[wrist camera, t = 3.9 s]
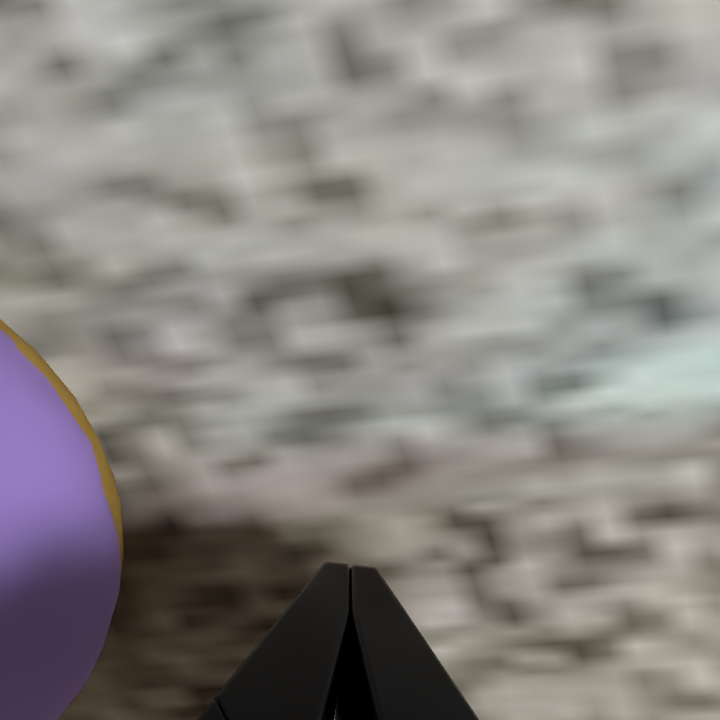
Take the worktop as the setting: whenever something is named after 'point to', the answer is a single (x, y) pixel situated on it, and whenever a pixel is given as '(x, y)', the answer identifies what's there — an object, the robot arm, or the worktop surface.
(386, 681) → the robot arm
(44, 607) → the donut
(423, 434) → the worktop surface
